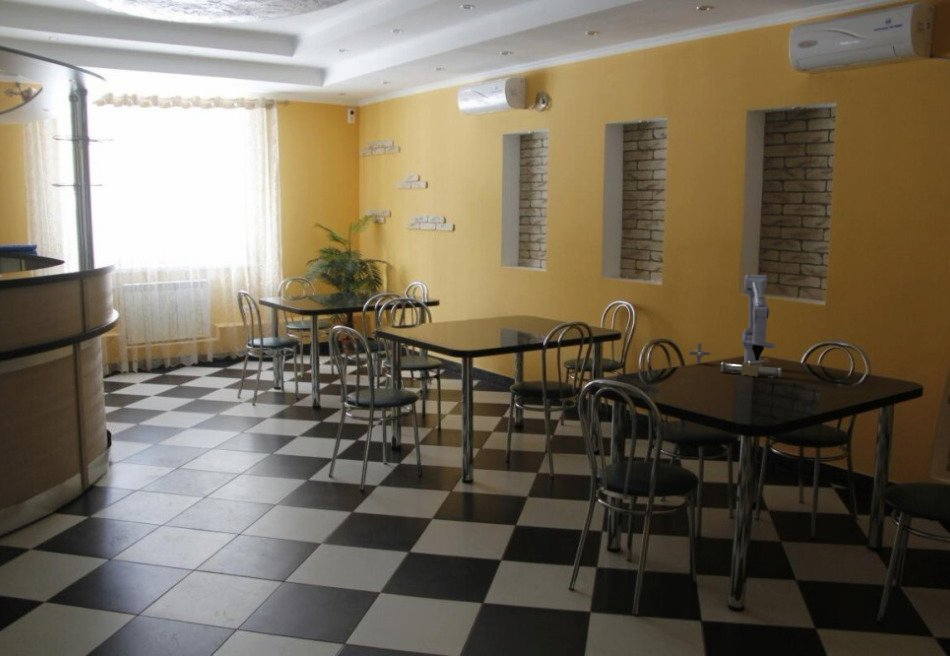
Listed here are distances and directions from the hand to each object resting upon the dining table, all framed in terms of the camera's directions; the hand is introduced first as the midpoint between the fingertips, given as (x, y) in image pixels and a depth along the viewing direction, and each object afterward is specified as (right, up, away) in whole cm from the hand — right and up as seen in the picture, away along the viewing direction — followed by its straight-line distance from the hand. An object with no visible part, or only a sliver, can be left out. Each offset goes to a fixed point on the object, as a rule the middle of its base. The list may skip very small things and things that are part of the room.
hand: (757, 361), depth 392 cm
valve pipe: (-4, -6, -4) cm, 8 cm away
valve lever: (0, 0, -2) cm, 2 cm away
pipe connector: (-21, -2, +22) cm, 31 cm away
